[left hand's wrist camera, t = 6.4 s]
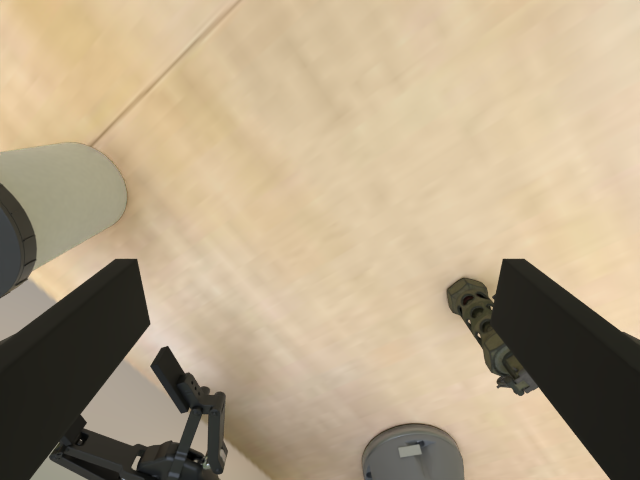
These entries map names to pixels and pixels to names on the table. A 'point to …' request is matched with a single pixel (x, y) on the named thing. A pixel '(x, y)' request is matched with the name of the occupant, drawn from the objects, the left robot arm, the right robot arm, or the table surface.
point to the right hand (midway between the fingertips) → (98, 373)
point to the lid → (15, 243)
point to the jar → (64, 193)
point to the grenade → (488, 334)
